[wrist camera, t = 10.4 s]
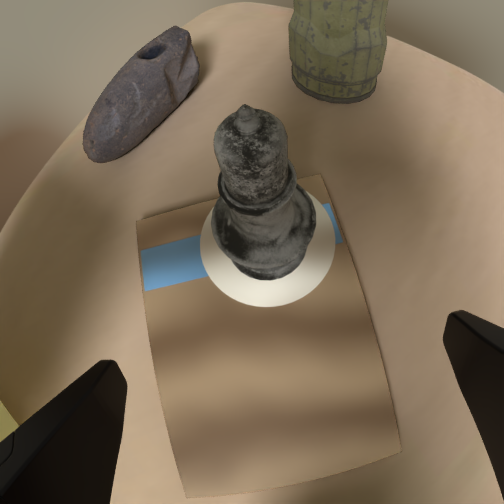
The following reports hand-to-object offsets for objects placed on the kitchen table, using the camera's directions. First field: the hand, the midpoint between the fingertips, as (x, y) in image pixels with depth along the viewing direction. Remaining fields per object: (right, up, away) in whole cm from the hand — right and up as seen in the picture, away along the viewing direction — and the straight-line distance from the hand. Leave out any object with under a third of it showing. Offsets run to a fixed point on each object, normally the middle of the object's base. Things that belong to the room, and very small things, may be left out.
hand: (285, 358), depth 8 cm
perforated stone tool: (-10, +15, +21) cm, 28 cm away
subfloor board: (0, -3, +12) cm, 13 cm away
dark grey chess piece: (0, +3, +14) cm, 14 cm away
